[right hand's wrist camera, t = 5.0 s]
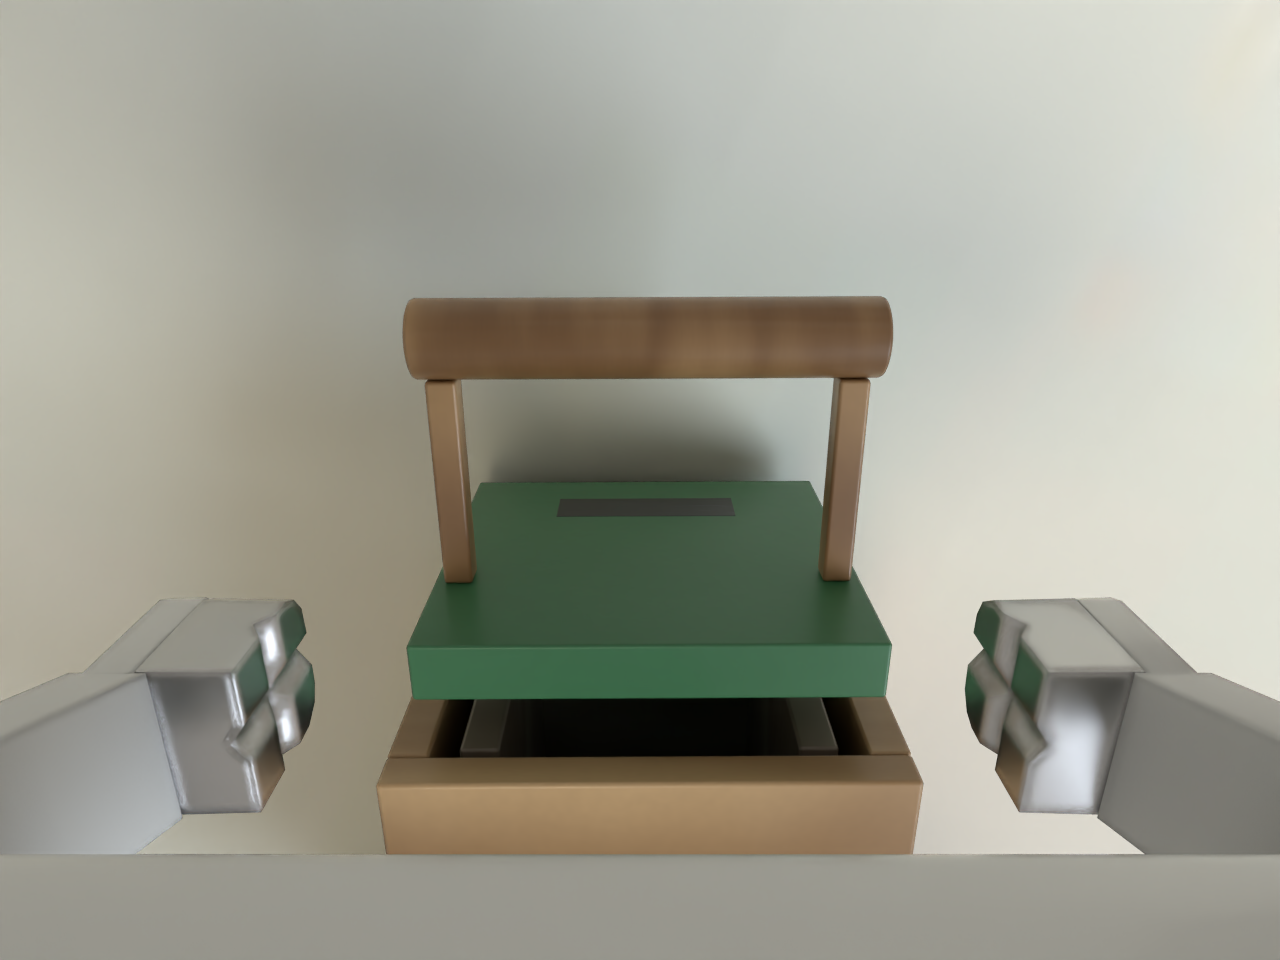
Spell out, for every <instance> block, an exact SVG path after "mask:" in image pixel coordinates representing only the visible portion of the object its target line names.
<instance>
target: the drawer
mask: <svg viewBox="0 0 1280 960" xmlns="http://www.w3.org/2000/svg"><path fill="white" fill-rule="evenodd" d="M892 344H893V320H892V313H891V309H890V306H889V303H888V301H887V299H885V298H884V297H881V296H827V297H594V298H414V299H411V300H409V301H408V303H407V305H406V309H405V313H404V318H403V348H404V355H405V360H406V364H407V367H408V370H409V372H410V374H411V376H412V377H413V378H415V379H417V380H427V381H426V383H425V393H426V403H427V413H428V422H429V432H430V442H431V452H432V462H433V472H434V481H435V491H436V501H437V511H438V521H439V531H440V540H441V550H442V560H443V567H442V570H441V572H440V574H439V576H438V579H437V581H436V583H435V585H434V587H433V590H432V592H431V594H430V596H429V599H428V601H427V603H426V605H425V607H424V610H423V612H422V614H421V616H420V618H419V621H418V623H417V625H416V627H415V630H414V632H413V634H412V636H411V638H410V641H409V643H408V645H407V656H408V664H409V672H410V680H411V688H412V696H413V699H415V700H445V699H474V702H473V706H472V709H471V713H470V716H469V720H468V723H467V727H466V730H465V734H464V737H463V741H462V744H461V748H460V758H484V757H658V756H832V755H838V749H839V748H838V745H837V742H836V739H835V736H834V733H833V730H832V727H831V724H830V721H829V718H828V715H827V712H826V709H825V706H824V703H823V700H822V697H885V695H886V689H887V681H888V673H889V665H890V657H891V649H892V644H891V642H890V640H889V638H888V636H887V634H886V632H885V630H884V628H883V626H882V624H881V622H880V620H879V618H878V616H877V614H876V612H875V610H874V608H873V606H872V604H871V602H870V600H869V598H868V596H867V594H866V592H865V590H864V588H863V586H862V584H861V582H860V580H859V578H858V576H857V574H856V572H855V570H854V568H853V566H852V561H853V551H854V541H855V531H856V522H857V512H858V502H859V492H860V482H861V472H862V462H863V452H864V443H865V433H866V423H867V413H868V403H869V393H870V380H869V379H868V378H877V377H880V376H882V375H883V374H884V373H885V371H886V369H887V367H888V364H889V360H890V357H891V351H892ZM688 378H834V383H833V395H832V407H831V418H830V430H829V442H828V454H827V466H826V478H825V489H824V501H823V507H822V505H821V503H820V501H819V499H818V497H817V495H816V493H815V491H814V489H813V487H812V485H811V483H810V482H809V481H729V482H524V483H480V485H479V488H478V490H477V492H476V494H475V496H474V499H473V501H472V503H471V493H470V482H469V470H468V458H467V446H466V435H465V423H464V411H463V399H462V388H461V380H468V379H688Z"/></svg>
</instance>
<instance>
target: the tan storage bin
mask: <svg viewBox="0 0 1280 960" xmlns="http://www.w3.org/2000/svg"><path fill="white" fill-rule="evenodd" d="M822 700H823V703H824V706H825V709H826V712H827V715H828V718H829V721H830V724H831V727H832V730H833V733H834V736H835V739H836V742H837V745H838V748H839V749H838V755H832V756H658V757H484V758H460V748H461V744H462V741H463V737H464V734H465V730H466V727H467V723H468V720H469V716H470V713H471V709H472V706H473V702H474V699H445V700H415V699H413V696H412V698H411V700H410V703H409V705H408V708H407V710H406V713H405V715H404V717H403V720H402V722H401V725H400V727H399V730H398V732H397V735H396V737H395V740H394V742H393V745H392V747H391V750H390V752H389V755H388V760H387V761H386V763H385V766H384V768H383V771H382V773H381V776H380V778H379V781H378V783H377V786H376V789H377V795H378V802H379V808H380V815H381V822H382V828H383V835H384V841H385V848H386V854H913V848H914V842H915V835H916V829H917V822H918V815H919V809H920V802H921V796H922V789H923V781H922V779H921V776H920V774H919V772H918V770H917V767H916V765H915V763H914V761H913V758H912V757H911V756H910V755H911V753H910V750H909V748H908V746H907V744H906V741H905V739H904V737H903V735H902V732H901V730H900V728H899V726H898V723H897V721H896V719H895V717H894V714H893V712H892V710H891V708H890V706H889V703H888V701H887V699H886V697H822Z"/></svg>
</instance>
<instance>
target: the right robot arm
mask: <svg viewBox="0 0 1280 960" xmlns="http://www.w3.org/2000/svg"><path fill="white" fill-rule="evenodd" d="M305 634H306V629H305V624H304V619H303V614H302V610H301V608H300V606H299V605H298V604H297V603H296V602H295V601H294V600H273V599H220V598H213V599H209V598H171V599H163V600H159V601H158V602H157V603H156V604H155V605H154V606H153V607H152V608H151V609H150V610H149V611H148V612H147V613H146V614H144V615H143V616H142V617H141V618H140V619H139V620H138V621H137V622H136V623H135V624H134V625H133V626H132V627H131V628H130V629H129V630H128V631H127V632H125V633H124V634H123V635H122V636H121V637H120V638H119V639H118V640H117V641H116V642H115V643H114V644H113V645H112V646H111V647H110V648H109V649H107V650H106V651H105V652H104V653H103V654H102V655H101V656H100V657H99V658H98V659H97V660H96V661H95V662H94V663H93V664H92V665H91V666H90V667H88V668H87V669H86V670H85V671H84V672H83V673H68V674H65V675H63V676H60V677H58V678H56V679H53V680H51V681H48V682H46V683H44V684H41V685H39V686H36V687H34V688H32V689H29V690H27V691H25V692H22V693H20V694H17V695H15V696H13V697H10V698H8V699H5V700H3V701H1V702H0V960H1280V702H1279V701H1277V700H1274V699H1272V698H1270V697H1267V696H1265V695H1263V694H1260V693H1258V692H1255V691H1253V690H1251V689H1248V688H1246V687H1243V686H1241V685H1239V684H1236V683H1234V682H1232V681H1229V680H1227V679H1224V678H1222V677H1220V676H1217V675H1215V674H1212V673H1197V672H1196V671H1195V670H1194V669H1193V668H1192V667H1191V666H1190V665H1188V664H1187V663H1186V662H1185V661H1184V660H1183V659H1182V658H1181V657H1180V656H1179V655H1178V654H1177V653H1176V652H1175V651H1174V650H1173V649H1172V648H1171V647H1169V646H1168V645H1167V644H1166V643H1165V642H1164V641H1163V640H1162V639H1161V638H1160V637H1159V636H1158V635H1157V634H1156V633H1155V632H1154V631H1153V630H1152V629H1151V628H1149V627H1148V626H1147V625H1146V624H1145V623H1144V622H1143V621H1142V620H1141V619H1140V618H1139V617H1138V616H1137V615H1136V614H1135V613H1134V612H1133V611H1132V610H1131V609H1129V608H1128V607H1127V606H1126V605H1125V604H1124V603H1123V602H1122V601H1120V600H1117V599H1114V598H1111V597H1105V598H1082V599H1075V598H1072V599H1031V600H993V601H985V602H983V603H982V605H981V607H980V609H979V611H978V613H977V617H976V623H975V628H974V634H975V636H976V637H977V639H978V640H979V642H980V643H981V645H982V646H983V648H984V649H983V650H982V651H981V652H980V653H979V654H978V655H977V656H976V657H975V658H974V659H973V660H972V661H971V662H970V663H969V664H968V670H967V677H966V685H965V696H966V707H967V714H968V717H969V720H970V723H971V727H972V729H973V731H974V733H975V735H976V737H977V739H978V740H979V742H980V743H981V744H982V745H984V746H985V747H987V748H988V749H990V750H992V751H993V752H995V753H996V754H998V756H997V762H996V767H995V771H996V773H997V774H998V776H999V778H1000V779H1001V781H1002V783H1003V785H1004V786H1005V788H1006V790H1007V792H1008V793H1009V795H1010V797H1011V799H1012V800H1013V802H1014V804H1015V806H1016V807H1017V809H1018V811H1019V812H1026V813H1063V814H1098V817H1097V818H1098V819H1100V820H1101V821H1102V822H1103V823H1105V824H1106V825H1107V826H1109V827H1110V828H1111V829H1113V830H1114V831H1115V832H1117V833H1118V834H1119V835H1121V836H1122V837H1123V838H1125V839H1126V840H1127V841H1128V842H1130V843H1131V844H1132V845H1134V846H1135V847H1136V848H1138V849H1139V850H1140V851H1142V852H1143V853H1144V854H136V853H137V852H139V851H140V850H141V849H143V848H144V847H145V846H147V845H148V844H149V843H151V842H152V841H153V840H154V839H156V838H157V837H158V836H160V835H161V834H162V833H164V832H165V831H166V830H168V829H169V828H170V827H172V826H173V825H174V824H176V823H177V822H178V821H179V820H181V819H182V814H215V813H251V812H261V811H262V809H263V808H264V806H265V804H266V802H267V801H268V799H269V797H270V795H271V794H272V792H273V790H274V788H275V787H276V785H277V783H278V781H279V780H280V778H281V776H282V774H283V773H284V771H285V767H284V762H283V756H282V754H284V753H285V752H287V751H288V750H290V749H292V748H293V747H295V746H296V745H298V744H299V743H300V742H301V740H302V738H303V737H304V735H305V733H306V731H307V729H308V727H309V724H310V720H311V716H312V711H313V707H314V703H315V682H314V675H313V669H312V664H311V663H310V662H309V661H308V660H307V659H306V658H305V657H304V656H303V655H302V654H301V653H300V652H299V651H298V650H297V649H296V648H297V646H298V645H299V643H300V642H301V640H302V639H303V637H304V636H305Z"/></svg>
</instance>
